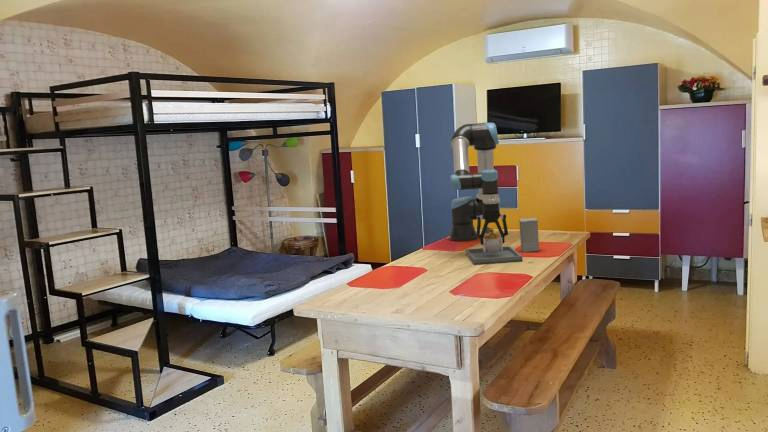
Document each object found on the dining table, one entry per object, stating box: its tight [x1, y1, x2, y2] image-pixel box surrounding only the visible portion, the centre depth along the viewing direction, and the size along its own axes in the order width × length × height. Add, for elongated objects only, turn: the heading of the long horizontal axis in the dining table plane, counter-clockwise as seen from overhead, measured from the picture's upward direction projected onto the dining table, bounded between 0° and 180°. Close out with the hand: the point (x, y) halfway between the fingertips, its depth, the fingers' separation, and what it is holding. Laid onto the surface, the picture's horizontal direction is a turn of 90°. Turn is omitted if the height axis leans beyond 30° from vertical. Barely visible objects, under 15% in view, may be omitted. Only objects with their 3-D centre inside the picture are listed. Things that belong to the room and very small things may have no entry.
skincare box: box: [518, 217, 540, 253], centre depth 300 cm, size 8×7×16 cm
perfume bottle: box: [484, 226, 501, 253], centre depth 290 cm, size 8×10×12 cm
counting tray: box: [465, 245, 523, 266], centre depth 291 cm, size 24×22×2 cm
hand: (492, 250), depth 291 cm, fingers closed on perfume bottle, 7 cm apart
